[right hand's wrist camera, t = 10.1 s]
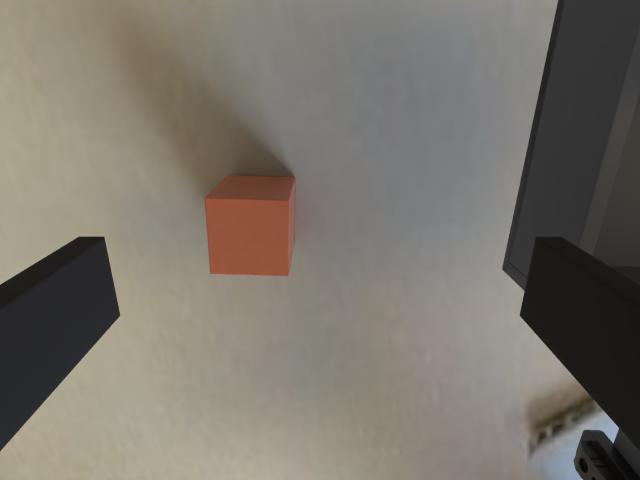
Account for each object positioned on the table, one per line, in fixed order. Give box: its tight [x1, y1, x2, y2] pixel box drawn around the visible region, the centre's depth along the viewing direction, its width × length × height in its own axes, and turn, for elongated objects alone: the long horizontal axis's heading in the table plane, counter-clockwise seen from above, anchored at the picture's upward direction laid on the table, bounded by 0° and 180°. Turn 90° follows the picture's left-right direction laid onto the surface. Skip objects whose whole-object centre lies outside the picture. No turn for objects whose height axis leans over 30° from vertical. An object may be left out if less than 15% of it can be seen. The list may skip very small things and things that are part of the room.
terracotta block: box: [205, 175, 295, 276], centre depth 25 cm, size 4×4×6 cm
